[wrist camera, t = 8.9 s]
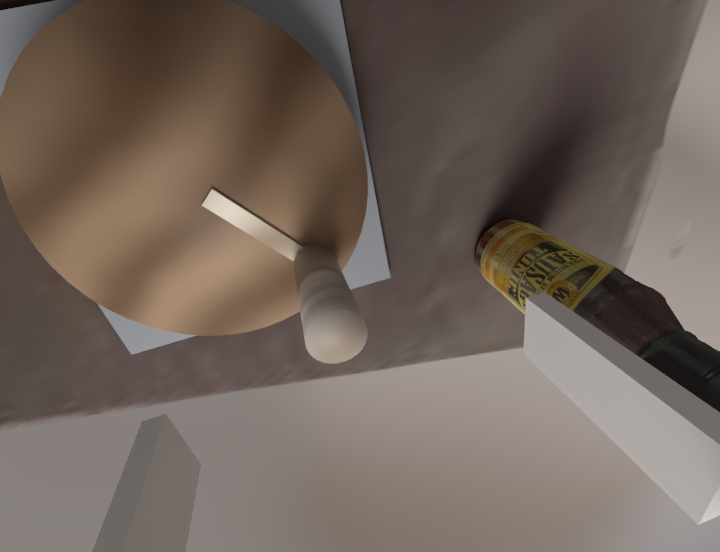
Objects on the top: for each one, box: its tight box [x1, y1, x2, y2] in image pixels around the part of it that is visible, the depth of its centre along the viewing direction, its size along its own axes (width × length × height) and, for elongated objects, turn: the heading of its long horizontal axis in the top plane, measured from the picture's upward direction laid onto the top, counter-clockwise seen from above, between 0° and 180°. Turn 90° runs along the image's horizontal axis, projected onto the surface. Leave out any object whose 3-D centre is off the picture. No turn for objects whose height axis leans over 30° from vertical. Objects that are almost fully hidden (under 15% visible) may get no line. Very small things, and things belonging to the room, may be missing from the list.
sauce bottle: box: [475, 219, 720, 393], centre depth 24 cm, size 6×6×20 cm
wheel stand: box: [0, 0, 391, 355], centre depth 24 cm, size 22×22×1 cm
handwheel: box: [0, 0, 368, 364], centre depth 18 cm, size 20×20×12 cm
